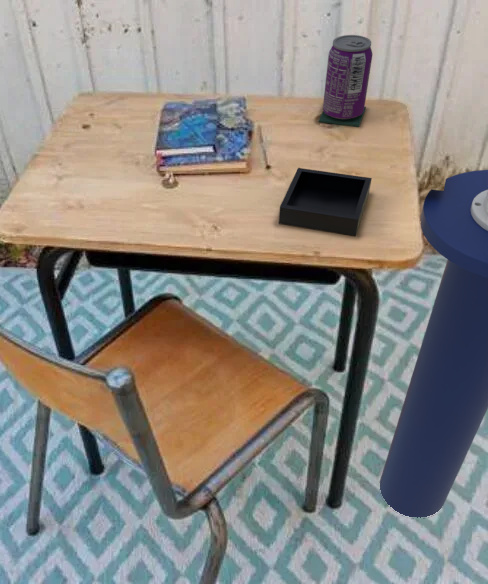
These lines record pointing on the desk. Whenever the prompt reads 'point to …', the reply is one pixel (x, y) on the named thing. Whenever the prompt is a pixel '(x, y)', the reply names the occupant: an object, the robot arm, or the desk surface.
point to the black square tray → (325, 201)
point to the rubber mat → (348, 122)
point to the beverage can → (347, 77)
